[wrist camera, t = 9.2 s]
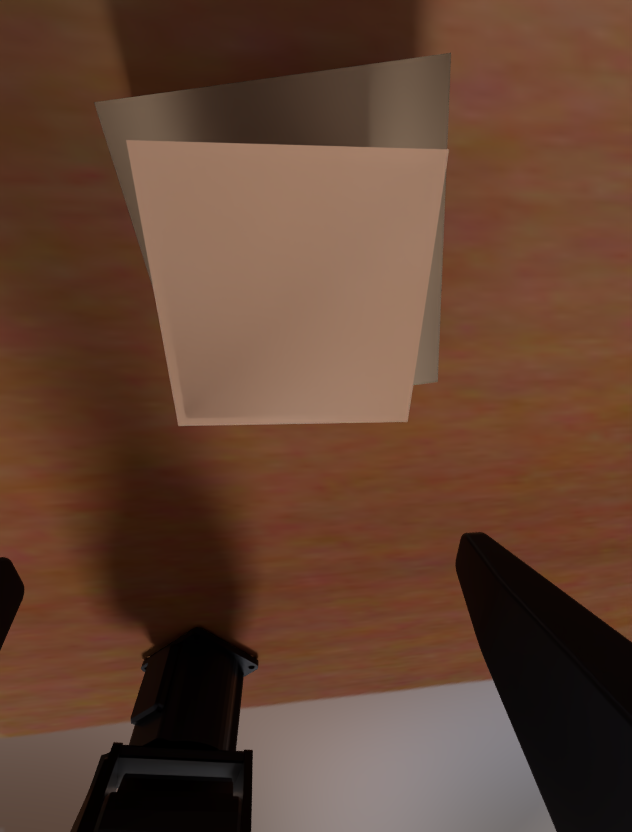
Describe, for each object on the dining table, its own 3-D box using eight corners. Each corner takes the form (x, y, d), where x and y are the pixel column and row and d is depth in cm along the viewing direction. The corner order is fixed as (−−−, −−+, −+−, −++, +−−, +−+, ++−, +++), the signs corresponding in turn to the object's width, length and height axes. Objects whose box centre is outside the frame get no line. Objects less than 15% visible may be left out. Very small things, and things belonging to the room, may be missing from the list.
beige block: (411, 91, 14) (450, 53, 11) (410, 349, 19) (437, 381, 15) (142, 128, 14) (94, 102, 11) (210, 375, 19) (192, 414, 15)
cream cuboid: (377, 174, 12) (448, 148, 7) (363, 343, 14) (407, 421, 9) (200, 170, 11) (125, 139, 6) (219, 344, 14) (178, 426, 9)
